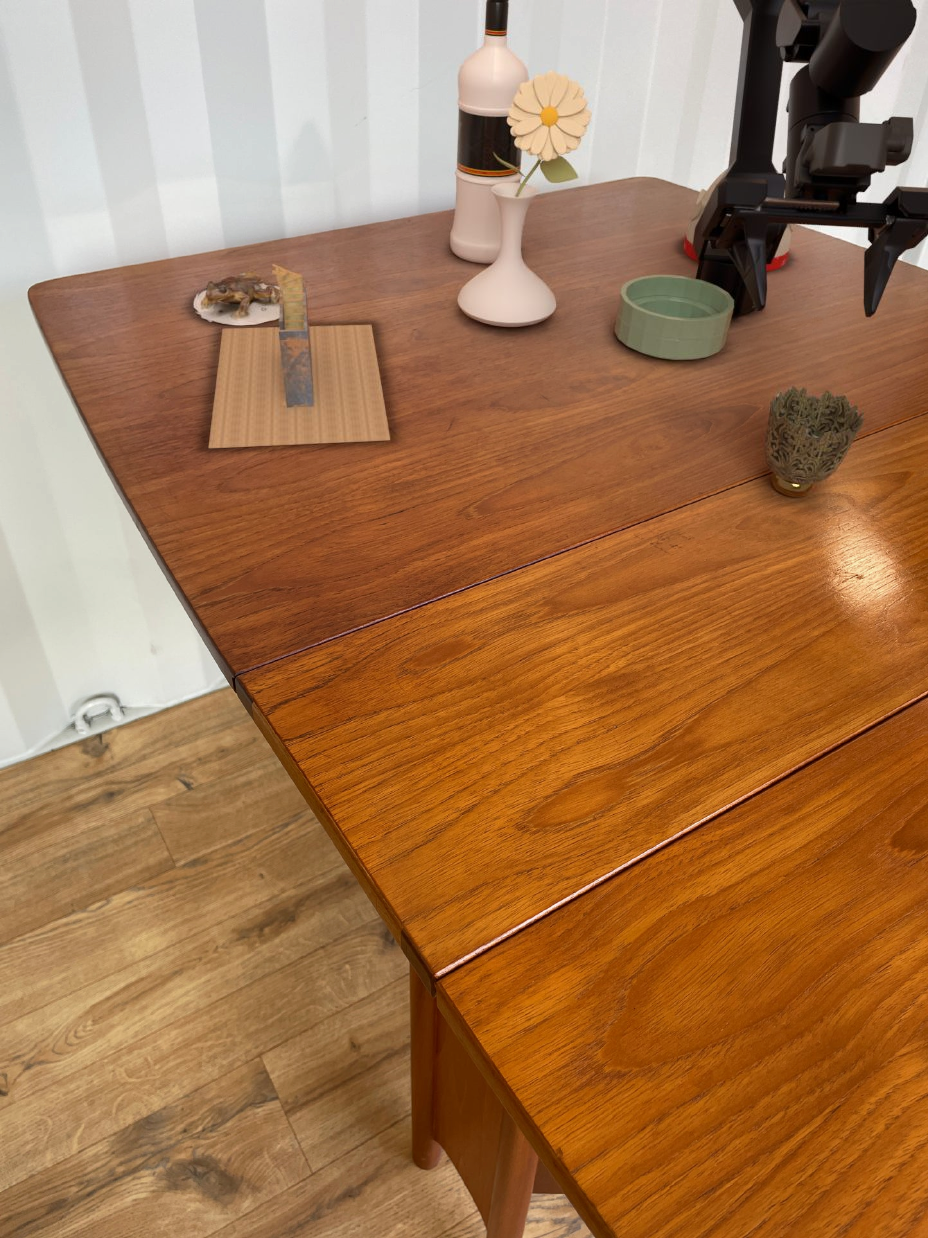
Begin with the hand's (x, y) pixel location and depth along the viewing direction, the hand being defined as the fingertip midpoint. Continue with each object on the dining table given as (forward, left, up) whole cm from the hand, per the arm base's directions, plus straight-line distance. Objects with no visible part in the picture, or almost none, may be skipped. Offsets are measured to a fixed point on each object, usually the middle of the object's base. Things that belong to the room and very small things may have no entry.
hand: (815, 312), depth 75 cm
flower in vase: (-36, 0, -13) cm, 38 cm away
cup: (+5, -5, -13) cm, 15 cm away
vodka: (-53, +11, -13) cm, 56 cm away
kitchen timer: (-33, +39, -13) cm, 53 cm away
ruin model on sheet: (-38, -28, -13) cm, 49 cm away
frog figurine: (-57, -23, -13) cm, 63 cm away
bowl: (-21, +10, -13) cm, 27 cm away
